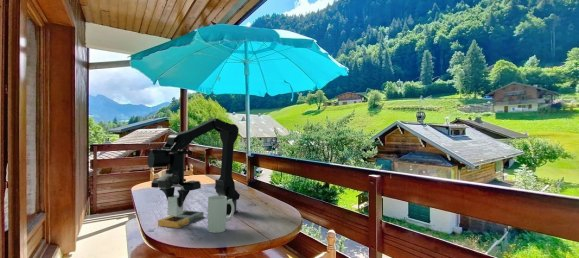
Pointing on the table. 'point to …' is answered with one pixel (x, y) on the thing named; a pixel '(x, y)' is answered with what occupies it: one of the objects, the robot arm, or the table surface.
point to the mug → (218, 213)
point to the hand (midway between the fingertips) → (175, 206)
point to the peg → (174, 206)
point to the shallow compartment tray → (180, 219)
